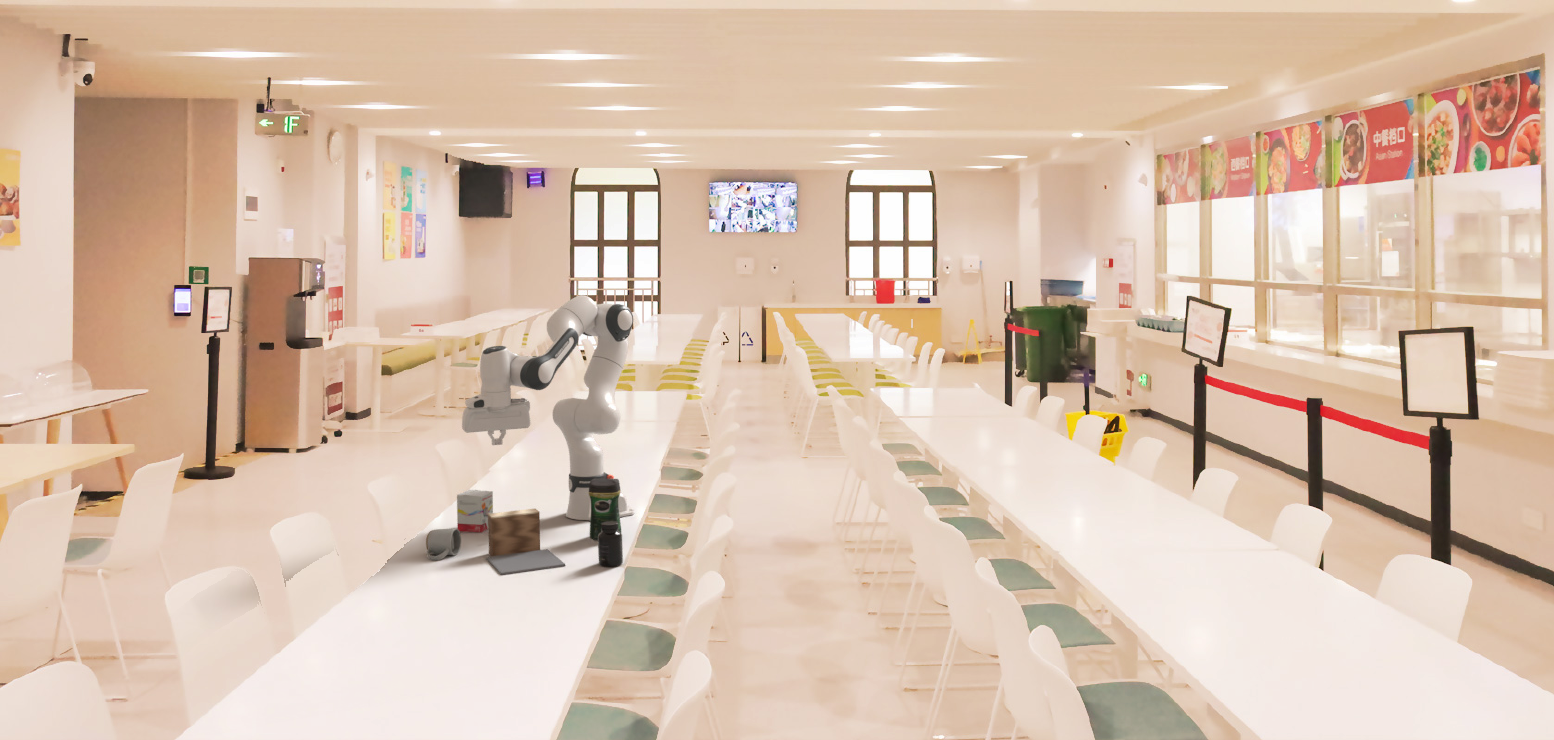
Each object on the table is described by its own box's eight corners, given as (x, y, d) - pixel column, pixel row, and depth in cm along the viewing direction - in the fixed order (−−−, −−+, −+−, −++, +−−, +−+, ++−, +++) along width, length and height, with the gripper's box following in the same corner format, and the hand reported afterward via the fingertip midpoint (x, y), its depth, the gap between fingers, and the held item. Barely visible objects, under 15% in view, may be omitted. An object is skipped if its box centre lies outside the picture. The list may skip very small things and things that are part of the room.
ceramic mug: (435, 550, 320) (434, 524, 319) (462, 550, 320) (461, 525, 319) (420, 561, 310) (419, 535, 309) (447, 562, 309) (446, 535, 308)
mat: (547, 550, 320) (547, 549, 320) (565, 566, 305) (565, 564, 305) (486, 559, 312) (486, 557, 311) (501, 575, 297) (501, 572, 297)
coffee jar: (623, 534, 338) (622, 476, 336) (618, 541, 331) (617, 481, 328) (592, 534, 339) (591, 475, 337) (587, 541, 331) (586, 481, 329)
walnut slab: (536, 547, 324) (535, 508, 322) (540, 551, 320) (539, 511, 318) (488, 553, 317) (487, 513, 316) (492, 557, 313) (491, 517, 312)
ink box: (481, 533, 339) (480, 496, 338) (456, 531, 341) (455, 494, 340) (494, 526, 348) (493, 490, 346) (469, 524, 349) (468, 488, 348)
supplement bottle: (610, 559, 312) (609, 518, 311) (627, 563, 308) (627, 522, 307) (593, 565, 306) (592, 523, 305) (611, 569, 303) (610, 527, 301)
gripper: (527, 396, 337) (528, 440, 338) (460, 400, 327) (461, 445, 329) (532, 399, 331) (533, 443, 333) (464, 403, 322) (466, 449, 323)
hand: (497, 444), depth 331 cm, fingers closed
